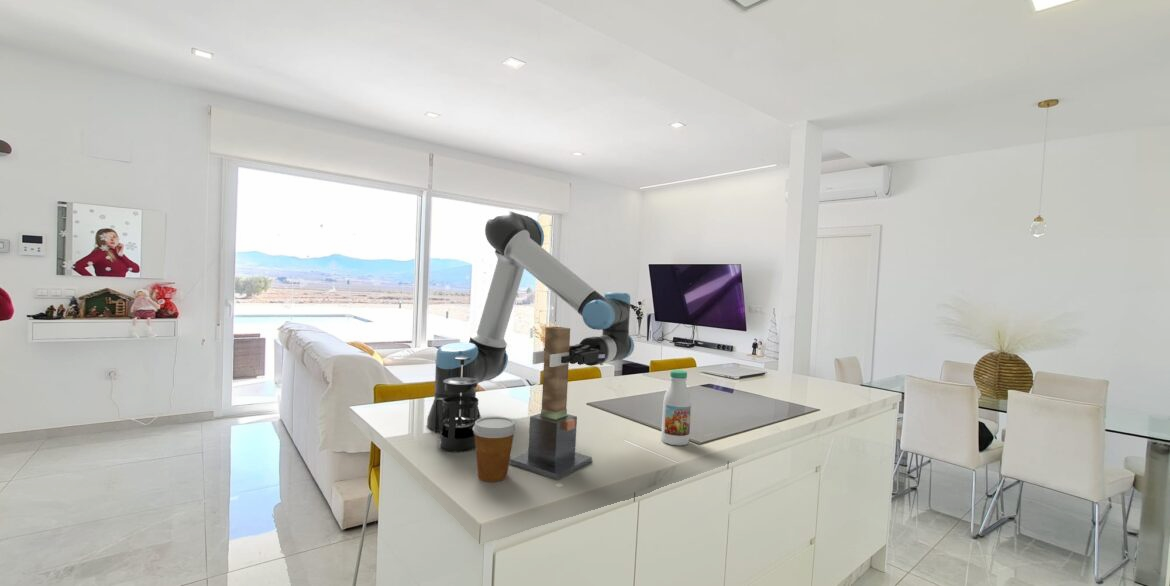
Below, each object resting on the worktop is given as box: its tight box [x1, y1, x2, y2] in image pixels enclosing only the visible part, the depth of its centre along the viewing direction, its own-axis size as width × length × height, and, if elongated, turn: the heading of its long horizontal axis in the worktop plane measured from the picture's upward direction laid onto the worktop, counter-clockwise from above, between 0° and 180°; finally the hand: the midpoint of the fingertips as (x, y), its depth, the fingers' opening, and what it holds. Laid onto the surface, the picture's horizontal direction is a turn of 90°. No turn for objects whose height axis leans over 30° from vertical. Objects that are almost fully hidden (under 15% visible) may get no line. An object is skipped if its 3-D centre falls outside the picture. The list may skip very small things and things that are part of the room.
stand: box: [509, 412, 593, 481], centre depth 117 cm, size 14×14×11 cm
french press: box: [434, 356, 479, 453], centre depth 125 cm, size 12×9×23 cm
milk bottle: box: [660, 369, 692, 446], centre depth 137 cm, size 8×8×20 cm
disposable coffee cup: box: [473, 416, 517, 483], centre depth 107 cm, size 10×10×12 cm
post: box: [540, 326, 571, 421], centre depth 116 cm, size 4×4×24 cm
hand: (542, 359), depth 112 cm, fingers closed on post, 4 cm apart
